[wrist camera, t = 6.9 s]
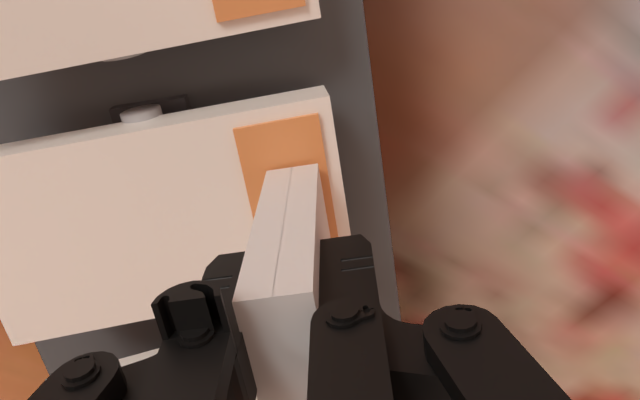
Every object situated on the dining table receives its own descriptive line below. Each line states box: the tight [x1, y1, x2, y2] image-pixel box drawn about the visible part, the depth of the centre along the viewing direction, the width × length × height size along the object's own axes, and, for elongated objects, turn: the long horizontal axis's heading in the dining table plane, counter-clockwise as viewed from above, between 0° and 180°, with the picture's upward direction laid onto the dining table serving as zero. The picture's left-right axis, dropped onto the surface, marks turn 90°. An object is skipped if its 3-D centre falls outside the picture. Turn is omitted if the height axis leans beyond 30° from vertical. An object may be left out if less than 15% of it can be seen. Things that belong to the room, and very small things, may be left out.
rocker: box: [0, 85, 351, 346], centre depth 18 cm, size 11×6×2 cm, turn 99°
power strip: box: [0, 0, 401, 375], centre depth 21 cm, size 14×31×6 cm, turn 9°
